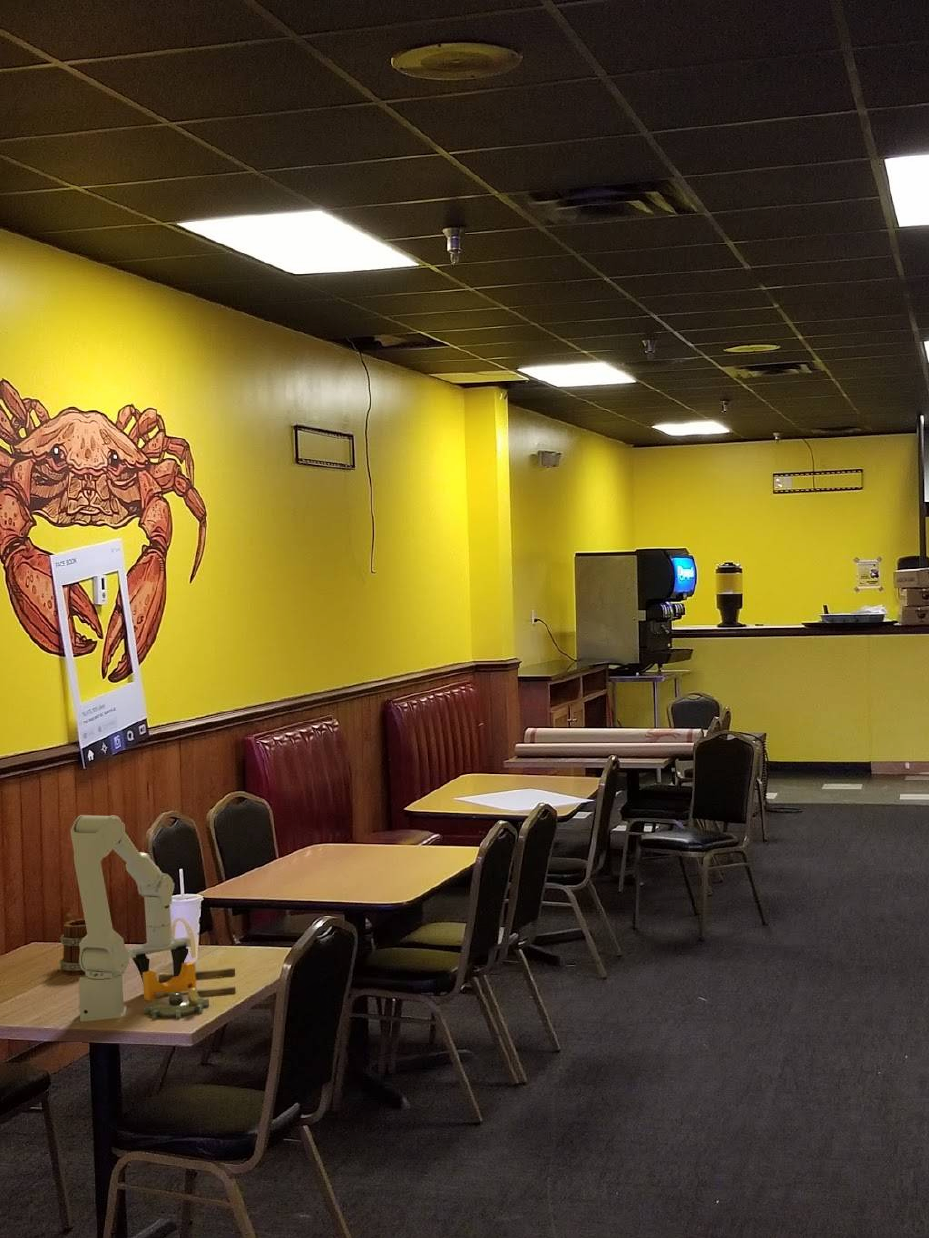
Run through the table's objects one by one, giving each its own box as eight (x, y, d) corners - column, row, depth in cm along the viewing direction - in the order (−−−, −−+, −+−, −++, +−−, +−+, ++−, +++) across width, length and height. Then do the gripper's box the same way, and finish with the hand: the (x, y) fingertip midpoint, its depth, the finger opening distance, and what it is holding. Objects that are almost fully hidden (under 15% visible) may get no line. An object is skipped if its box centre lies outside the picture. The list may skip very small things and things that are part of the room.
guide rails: (155, 1001, 326) (154, 993, 326) (159, 981, 344) (158, 973, 344) (235, 994, 329) (235, 985, 328) (235, 973, 346) (234, 965, 346)
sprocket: (129, 1015, 315) (128, 992, 315) (173, 997, 327) (172, 975, 327) (179, 1021, 308) (178, 998, 308) (222, 1003, 320) (221, 981, 320)
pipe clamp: (186, 987, 337) (185, 960, 337) (196, 990, 334) (194, 963, 333) (140, 999, 329) (138, 971, 329) (149, 1002, 326) (147, 974, 326)
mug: (71, 978, 350) (63, 916, 351) (50, 977, 361) (43, 917, 363) (116, 968, 357) (109, 907, 359) (94, 968, 368) (87, 909, 370)
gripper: (135, 932, 327) (138, 992, 327) (194, 921, 335) (197, 979, 336) (123, 927, 333) (127, 986, 333) (182, 916, 341) (185, 973, 341)
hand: (161, 982), depth 335 cm, fingers open, 7 cm apart
